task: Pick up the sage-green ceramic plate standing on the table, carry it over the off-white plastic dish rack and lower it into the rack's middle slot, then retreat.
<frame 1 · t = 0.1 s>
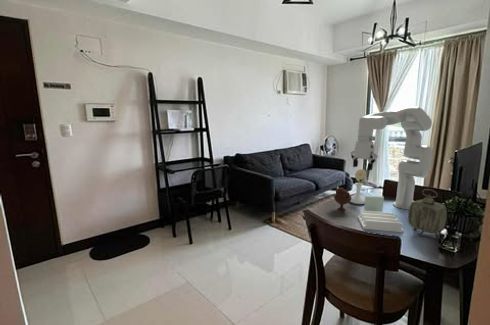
hand: (362, 168, 151), 31 cm above the table, tool pointing down, fingers open, 9 cm apart
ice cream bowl: (341, 210, 172), on the table
tabletop clock: (423, 235, 137), on the table
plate: (372, 214, 164), on the table
dish rack: (379, 224, 149), on the table
flower in vase: (357, 203, 184), on the table
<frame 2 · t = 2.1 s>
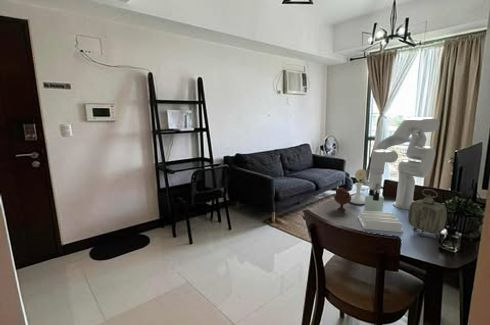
hand: (373, 197, 161), 11 cm above the table, tool pointing down, fingers open, 9 cm apart
nothing on the table moved.
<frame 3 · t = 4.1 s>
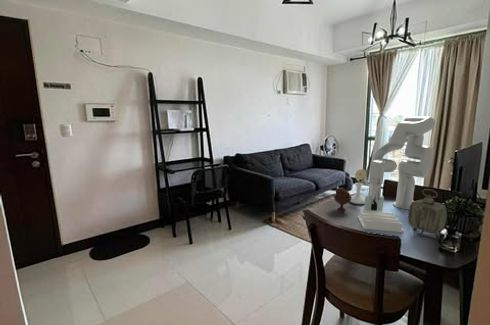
hand: (373, 208, 163), 4 cm above the table, tool pointing down, fingers closed on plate, 2 cm apart
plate: (372, 214, 164), on the table, touching gripper
everything else where it was.
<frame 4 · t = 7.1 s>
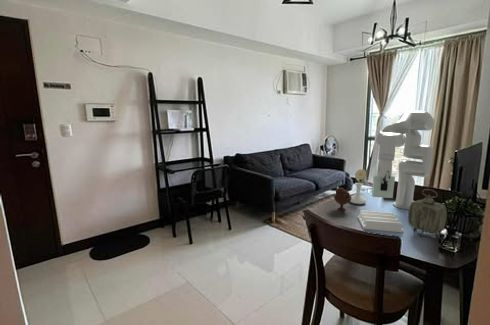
hand: (382, 189, 145), 21 cm above the table, tool pointing down, fingers closed on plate
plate: (382, 196, 146), point 17 cm above the table, touching gripper
everything else where it was.
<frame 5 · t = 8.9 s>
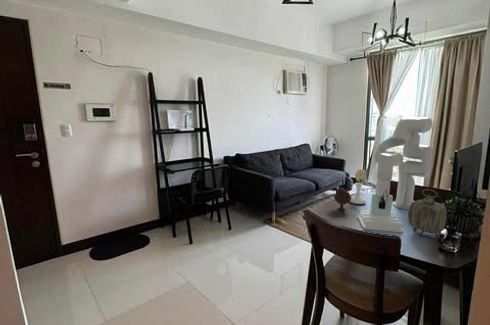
hand: (380, 207, 147), 10 cm above the table, tool pointing down, fingers closed on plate
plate: (380, 215, 148), point 6 cm above the table, touching gripper
everything else where it was.
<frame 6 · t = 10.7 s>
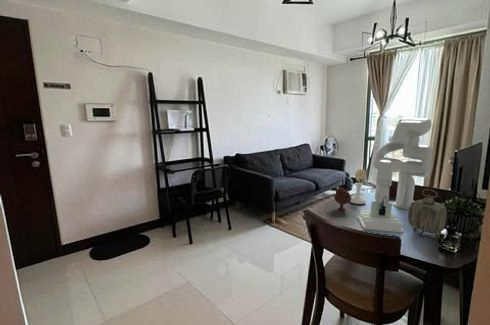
hand: (380, 213, 148), 7 cm above the table, tool pointing down, fingers open, 4 cm apart
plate: (379, 222, 149), point 1 cm above the table, touching dish rack
everything else where it was.
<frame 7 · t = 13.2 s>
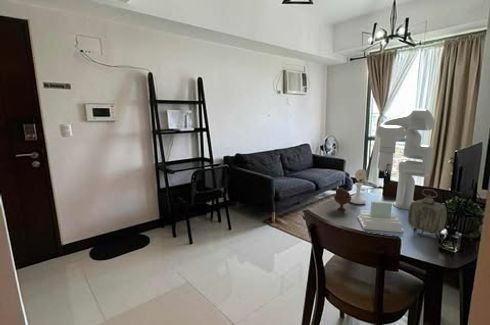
hand: (383, 180, 144), 26 cm above the table, tool pointing down, fingers open, 9 cm apart
nothing on the table moved.
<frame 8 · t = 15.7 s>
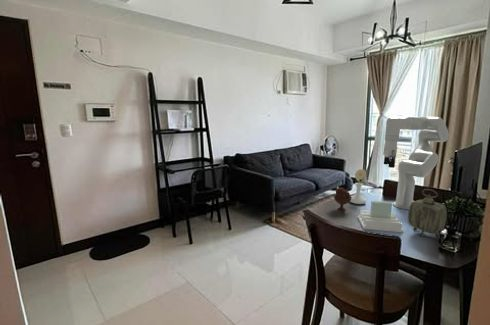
hand: (388, 165, 162), 30 cm above the table, tool pointing down, fingers open, 9 cm apart
nothing on the table moved.
at the end: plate 0.1 cm off-centre on the dish rack, point 1.5 cm above the dish rack's base; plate tilted 0°; the gripper is holding nothing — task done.
